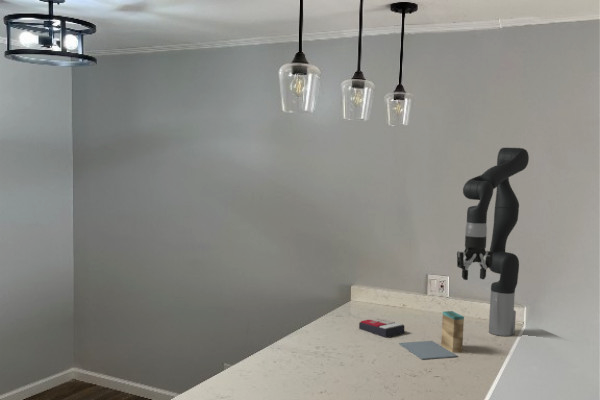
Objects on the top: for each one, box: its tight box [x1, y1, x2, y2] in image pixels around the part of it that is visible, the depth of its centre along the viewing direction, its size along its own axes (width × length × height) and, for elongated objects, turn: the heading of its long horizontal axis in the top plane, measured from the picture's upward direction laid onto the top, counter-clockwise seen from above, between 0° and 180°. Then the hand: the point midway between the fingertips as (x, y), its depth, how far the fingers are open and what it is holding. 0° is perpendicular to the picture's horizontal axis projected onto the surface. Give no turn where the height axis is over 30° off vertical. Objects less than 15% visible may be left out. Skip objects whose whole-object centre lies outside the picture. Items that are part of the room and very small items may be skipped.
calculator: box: [358, 317, 405, 339], centre depth 241 cm, size 11×4×15 cm
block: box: [440, 310, 465, 353], centre depth 220 cm, size 4×8×13 cm, turn 17°
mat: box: [398, 340, 458, 360], centre depth 218 cm, size 14×18×1 cm
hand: (473, 279), depth 221 cm, fingers open, 6 cm apart
